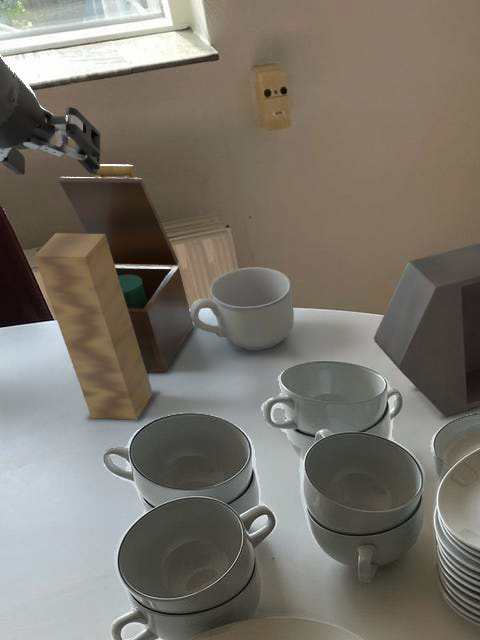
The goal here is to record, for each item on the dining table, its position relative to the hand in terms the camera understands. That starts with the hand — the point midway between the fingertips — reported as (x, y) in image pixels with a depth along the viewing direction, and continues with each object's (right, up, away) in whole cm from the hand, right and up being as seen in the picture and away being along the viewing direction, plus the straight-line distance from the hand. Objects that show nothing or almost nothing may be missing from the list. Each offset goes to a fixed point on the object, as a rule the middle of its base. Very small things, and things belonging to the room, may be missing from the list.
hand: (58, 166), depth 115 cm
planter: (+37, -20, +4) cm, 42 cm away
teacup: (+16, -13, +24) cm, 32 cm away
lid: (+2, 0, +15) cm, 16 cm away
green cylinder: (+2, -14, +23) cm, 27 cm away
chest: (+2, -14, +24) cm, 28 cm away
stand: (+3, -24, +14) cm, 28 cm away
